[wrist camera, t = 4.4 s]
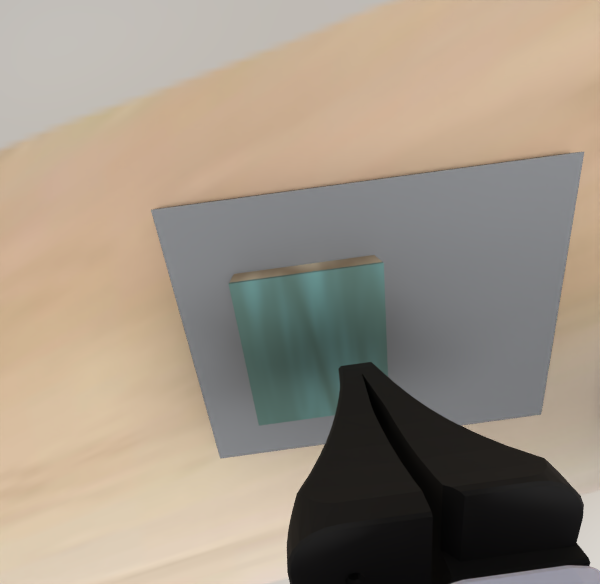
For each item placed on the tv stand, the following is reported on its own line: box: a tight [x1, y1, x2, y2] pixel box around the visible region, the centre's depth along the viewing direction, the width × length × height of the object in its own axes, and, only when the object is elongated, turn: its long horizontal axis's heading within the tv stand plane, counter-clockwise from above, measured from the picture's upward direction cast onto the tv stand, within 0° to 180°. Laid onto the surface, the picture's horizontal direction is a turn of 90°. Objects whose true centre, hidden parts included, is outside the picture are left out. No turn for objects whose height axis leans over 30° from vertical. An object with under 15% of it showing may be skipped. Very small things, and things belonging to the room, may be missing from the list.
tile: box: [229, 255, 388, 426], centre depth 16 cm, size 2×8×7 cm
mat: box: [151, 152, 584, 458], centre depth 17 cm, size 20×15×1 cm
